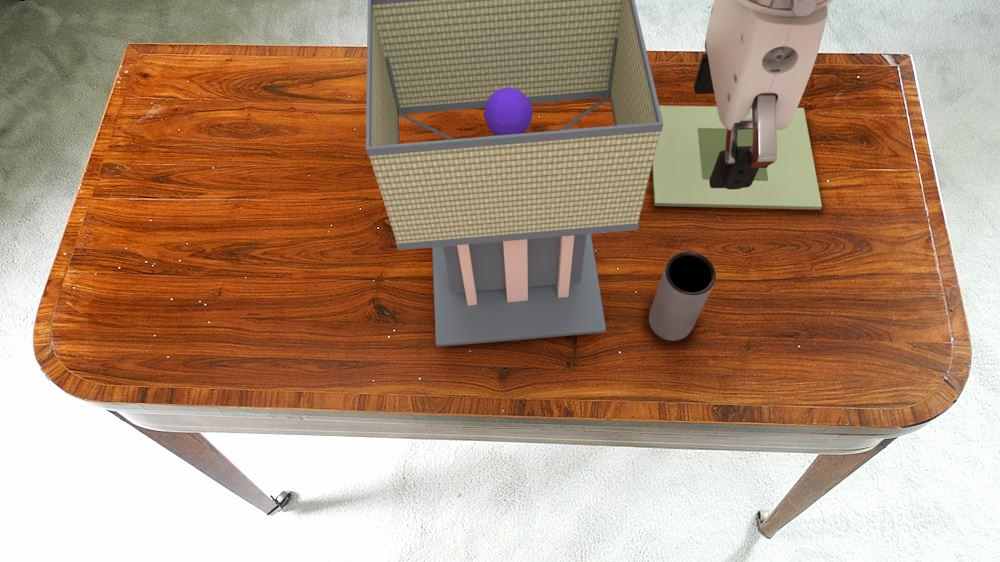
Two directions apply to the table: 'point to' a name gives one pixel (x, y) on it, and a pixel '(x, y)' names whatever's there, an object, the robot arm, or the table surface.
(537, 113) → the table surface
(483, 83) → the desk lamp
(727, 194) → the mat
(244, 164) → the table surface
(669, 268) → the gray hollow cylinder
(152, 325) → the table surface
